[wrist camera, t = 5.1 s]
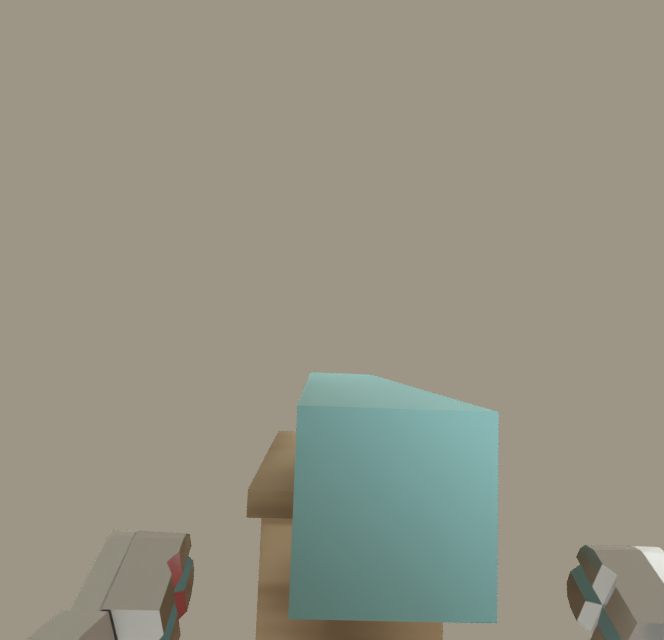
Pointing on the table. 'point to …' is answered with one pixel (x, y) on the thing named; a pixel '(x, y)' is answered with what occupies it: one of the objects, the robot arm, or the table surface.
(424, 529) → the rod
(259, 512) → the pedestal
